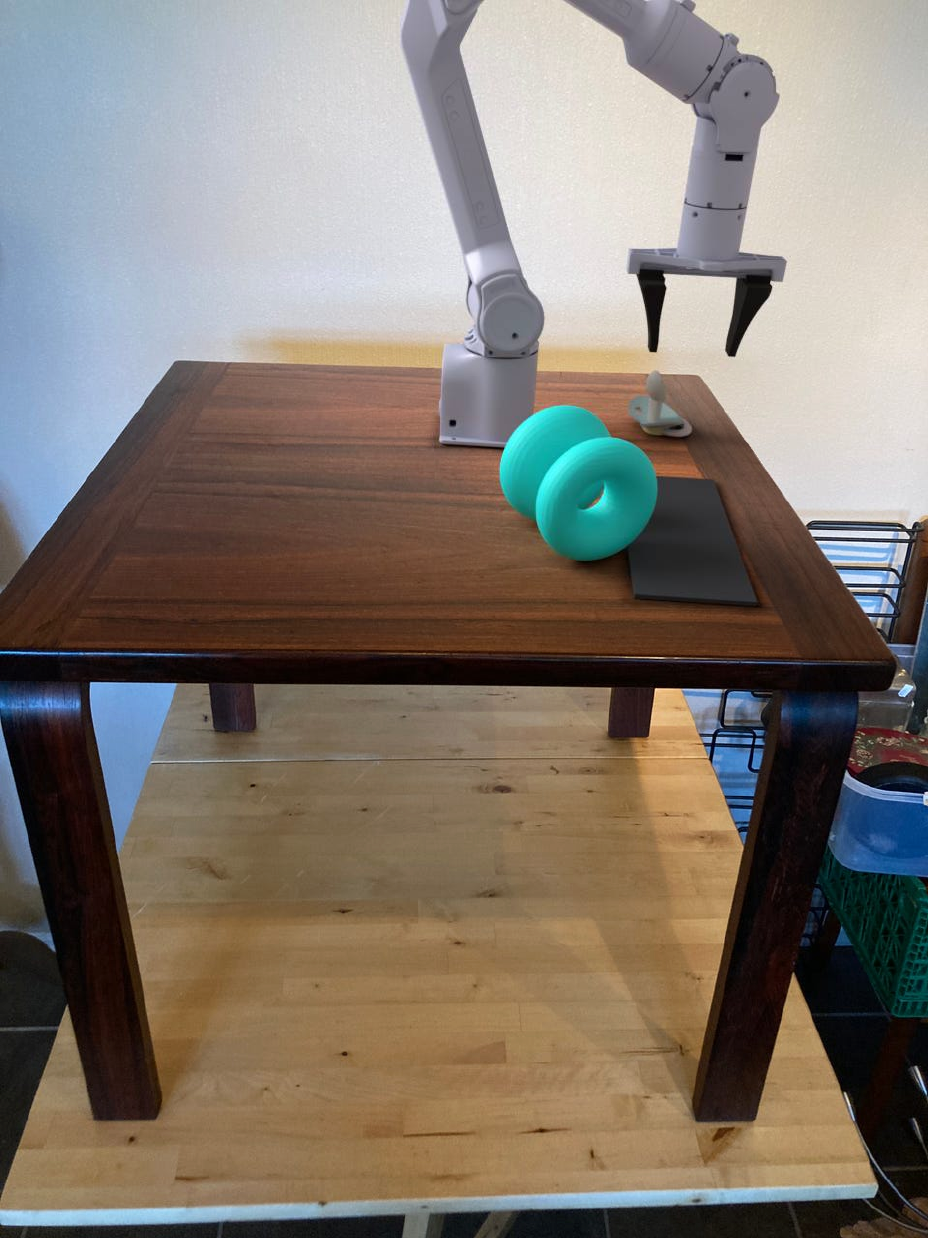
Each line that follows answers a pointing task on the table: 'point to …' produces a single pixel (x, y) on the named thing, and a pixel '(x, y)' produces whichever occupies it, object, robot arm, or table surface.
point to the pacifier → (657, 410)
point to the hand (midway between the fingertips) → (691, 351)
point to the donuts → (578, 482)
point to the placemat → (688, 548)
